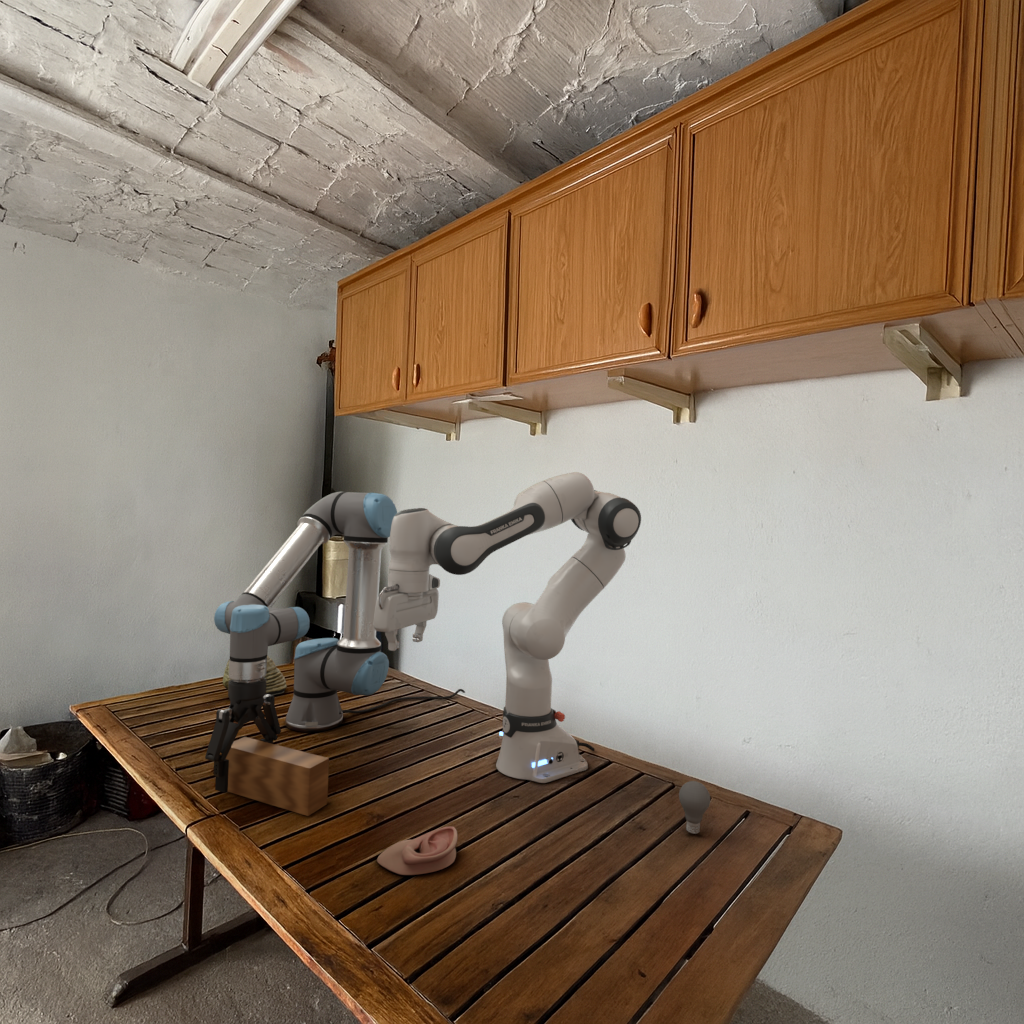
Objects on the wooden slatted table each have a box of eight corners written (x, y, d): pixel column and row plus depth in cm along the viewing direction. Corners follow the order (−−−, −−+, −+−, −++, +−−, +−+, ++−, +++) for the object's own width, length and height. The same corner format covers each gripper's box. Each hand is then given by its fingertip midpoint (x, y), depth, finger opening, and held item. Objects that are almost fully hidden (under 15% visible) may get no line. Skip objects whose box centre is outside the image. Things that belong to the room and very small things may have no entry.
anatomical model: (370, 846, 108) (395, 814, 119) (369, 869, 108) (395, 835, 119) (444, 859, 105) (463, 825, 117) (443, 882, 106) (462, 846, 117)
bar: (222, 790, 135) (223, 745, 135) (243, 779, 140) (244, 736, 140) (308, 816, 126) (309, 768, 125) (327, 804, 131) (329, 758, 131)
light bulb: (673, 824, 128) (675, 775, 128) (701, 824, 129) (704, 775, 129) (683, 840, 122) (685, 789, 122) (713, 840, 123) (716, 789, 123)
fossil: (218, 695, 195) (220, 647, 195) (278, 685, 208) (279, 640, 207) (228, 703, 189) (230, 653, 188) (289, 692, 201) (290, 645, 201)
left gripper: (214, 695, 124) (210, 806, 124) (300, 668, 145) (296, 763, 145) (187, 689, 127) (183, 797, 127) (275, 663, 148) (271, 756, 148)
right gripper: (393, 589, 127) (390, 657, 127) (444, 579, 146) (441, 638, 146) (367, 586, 129) (364, 653, 130) (420, 576, 148) (418, 635, 148)
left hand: (243, 779), depth 136 cm, fingers open, 11 cm apart
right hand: (405, 645), depth 138 cm, fingers open, 8 cm apart
